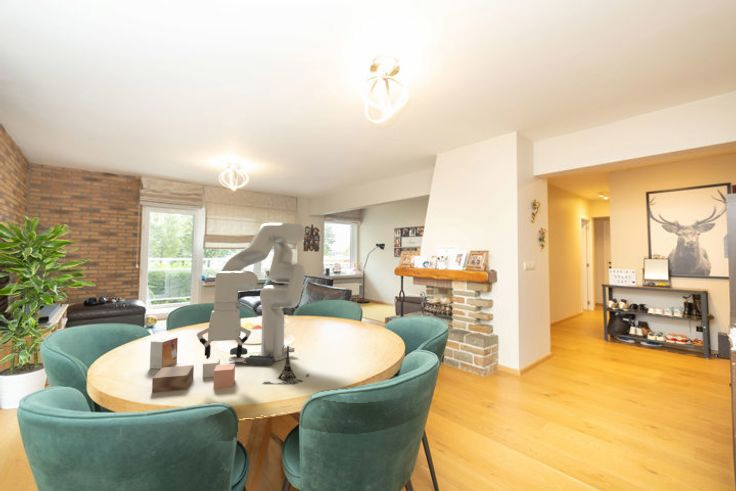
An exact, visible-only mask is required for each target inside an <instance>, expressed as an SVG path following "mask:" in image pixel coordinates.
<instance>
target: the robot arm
mask: <svg viewBox="0 0 736 491" xmlns="http://www.w3.org/2000/svg"><path fill="white" fill-rule="evenodd" d="M305 235H306V230H305V227H304V226H303V225H302V224H301V223H299V222H298V223H296V222H295V223H294V222H293V223H292V222H266V223H263V224H261V225H260V227H258V230H257V231H256V233H255V235H254V236H253V238H252V239H251V240H250V242H249V244H248V246H247V247H245V248H244V249H243V250H240V251H239V252H238V253H236V254H235V255H233V256H231V258H230V259H228V260H227V261H226V263H225V265H224V266H223V267H222V269H221V270H220V271H218V272H216V274H215V279H214V280H215V281H214V282H215V283H214V300H213V301H214V302H213V310H211V313H210V318H209V323H208V327H207V328H205V329H203V330H201V331H199V332H197V333H196V337H197V339H198V340H199V342H200V344H201V345H203V347H204V356H205V360H208V359H210V357H211V351H212V350H211V342H223V341H236V343H237V346H236V347H237V357H239V356H240V354H242V347H243V345H244V343H246V341H247V340H248V339H249V337H250V335H251V333H252V331H251V330H249V329H247V328H245V327H243V326H242V324H241V322H242V320H241V311H240V309H239V308H242V307H243V303H240V302H239V301H238V299H239V292H250V291H253V290H254V289H255V288H256V287H257V285H258V282H259V280H258V276H257V274H256V273H255V272H253V271H249V270H243V269H245V268H246V267H249V266H251V265H255V264H257V263H261V262H263V261H265V259H267V258H268V256H269V254H270V252H271V250H272V249H273V255H272V256H273V257H272V259H271V265H270V269H269V273H268V278H269V280H270V281H271V282H272V283H276V284H269V285H265V286H264V287H263V288H261V290H260V293H259V299H260V306H261V315H262V316H261V342H260V343H261V345H260V346H261V350H260V353H258V354H257V356H274V357H275V362H278V361H282V360H286V357H287V346H285V314H284V311H283V310H282V309H283V308H285V309H286V308H287V309H288V308H289V309H292V308H293V309H295V308H296V307H297V306H298V305H299V303H300V301H301V296H302V292H303V287H304V281H305V276H306V275H305V268H304V266H303V264H302V263H299V262H292V260H293V254H294V253H293V250H292V249H291V247H290V245H289V244H291V243H299V242H302V241H303V240H304V238H305V237H306V236H305ZM288 243H289V244H288ZM282 284H288V285H282ZM241 333H244V334H245V336H243V337H241ZM205 334H207V340H206V339H205V338H204V336H203V335H205ZM289 353H295V347H292V346H289Z"/></svg>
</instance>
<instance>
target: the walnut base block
mask: <svg viewBox="0 0 736 491" xmlns="http://www.w3.org/2000/svg"><path fill="white" fill-rule="evenodd" d="M194 369H195V366H194V365H193V364H191V365H182V366H181V365H180V366H179V365H178V366H167V367H165V368H162V369H159V371H157V373H156V374H155V375H154V376H153V377H152V379H151V381H152V384H151V393H152V394H155V393H156V394H157V393H164V392H172V391H173V392H174V391H186V390H188V388H189V387H190V385H191V383H192V382H193V380H194Z"/></svg>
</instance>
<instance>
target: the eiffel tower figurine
mask: <svg viewBox="0 0 736 491" xmlns="http://www.w3.org/2000/svg"><path fill="white" fill-rule="evenodd" d="M286 347H287V357H286V358H285V364H284V367H283V369H282V370H281V373H280V375H278V376H277V378H276V379H278V380H279V381H281V382H278V383H276V385H298V384H301V383H302V382H304V379H298V377H297V376H296V375H295V373H294V370H293V369H292V367H291V363H290V352H289V347H290V346H289V345H287V346H286ZM309 375H310V374H309V373H307V374H306V376H305V377H306V378H308V377H309ZM262 385H275V383H273V382H271V381H263V382H262Z"/></svg>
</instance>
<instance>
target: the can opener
mask: <svg viewBox="0 0 736 491" xmlns="http://www.w3.org/2000/svg"><path fill="white" fill-rule="evenodd" d="M247 354H248V349H247V348H246V347H243V346H242V354H240V356H239V357H237V346H236V347H232V348H231V349H230V350H229V355H230V357H229V358H228V362H236V363H238V362H239V363H241V362H242V363H245V365H247V366H263V367H265V366H267V367H270V366H272V365H273V364H274V363H275V362H276V361H275V357H274V356H258V355H252V354H250V355H249V356H245V355H247ZM233 355H234V356H233ZM235 355H236V356H235ZM243 356H245V357H243Z"/></svg>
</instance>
